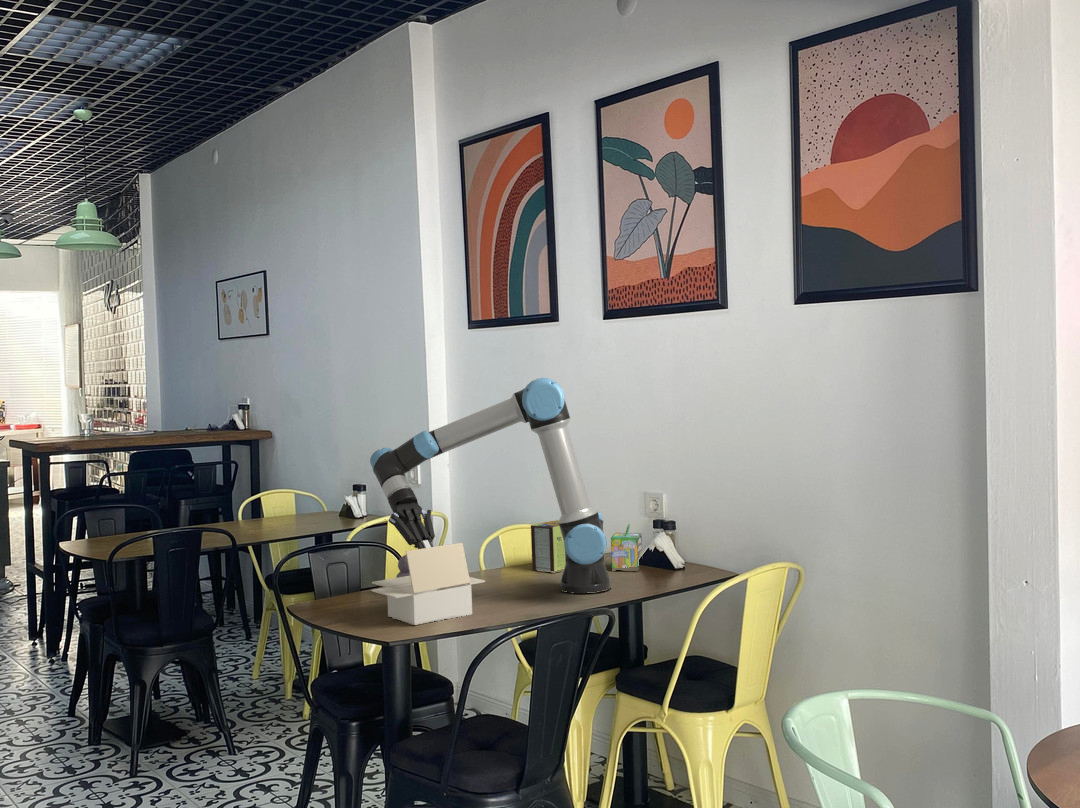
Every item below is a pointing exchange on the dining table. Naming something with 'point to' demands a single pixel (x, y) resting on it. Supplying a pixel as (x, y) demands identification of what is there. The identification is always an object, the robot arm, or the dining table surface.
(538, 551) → the protein box
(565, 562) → the robot arm
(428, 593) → the carton
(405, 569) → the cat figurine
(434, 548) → the flap
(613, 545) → the chalk box
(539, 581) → the dining table surface
